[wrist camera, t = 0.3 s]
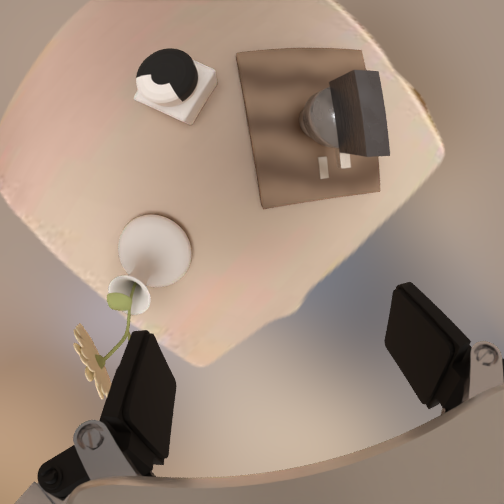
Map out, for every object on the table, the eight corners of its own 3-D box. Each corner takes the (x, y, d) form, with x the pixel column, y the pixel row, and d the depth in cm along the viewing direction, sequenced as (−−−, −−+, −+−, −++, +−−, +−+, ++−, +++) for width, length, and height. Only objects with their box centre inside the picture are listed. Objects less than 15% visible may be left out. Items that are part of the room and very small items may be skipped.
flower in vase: (125, 205, 37) (21, 291, 14) (199, 220, 39) (166, 334, 16) (119, 281, 41) (54, 398, 18) (185, 296, 43) (160, 431, 20)
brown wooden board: (236, 57, 30) (238, 40, 24) (355, 53, 30) (378, 41, 24) (261, 205, 39) (269, 219, 32) (374, 189, 39) (398, 198, 33)
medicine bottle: (174, 62, 30) (153, 33, 18) (218, 82, 31) (215, 57, 20) (148, 105, 32) (116, 92, 21) (191, 126, 33) (176, 118, 22)
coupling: (297, 89, 26) (328, 68, 17) (352, 88, 26) (399, 73, 17) (309, 168, 30) (344, 182, 21) (362, 163, 30) (410, 175, 21)
